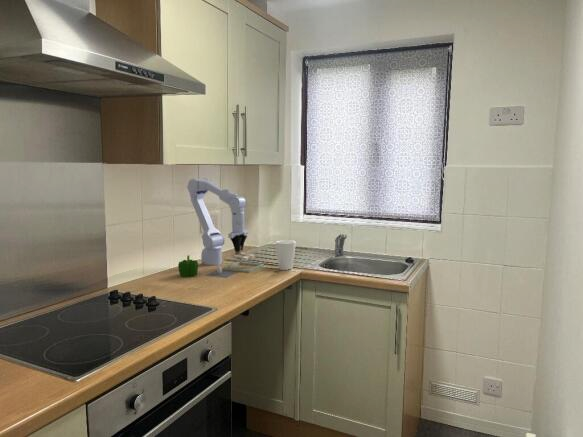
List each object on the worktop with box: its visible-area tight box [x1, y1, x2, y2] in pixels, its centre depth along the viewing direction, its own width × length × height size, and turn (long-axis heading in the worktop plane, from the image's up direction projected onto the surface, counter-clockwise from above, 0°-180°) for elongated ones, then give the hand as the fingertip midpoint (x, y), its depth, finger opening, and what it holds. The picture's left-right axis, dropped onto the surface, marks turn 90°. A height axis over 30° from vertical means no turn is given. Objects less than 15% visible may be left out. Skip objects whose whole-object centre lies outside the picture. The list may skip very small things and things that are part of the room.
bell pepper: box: [177, 255, 199, 278], centre depth 195 cm, size 8×8×10 cm
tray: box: [223, 261, 265, 273], centre depth 210 cm, size 14×14×2 cm
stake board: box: [204, 266, 240, 279], centre depth 198 cm, size 11×11×4 cm
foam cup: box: [275, 239, 297, 271], centre depth 213 cm, size 10×9×13 cm
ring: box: [230, 246, 256, 262], centre depth 209 cm, size 8×8×5 cm
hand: (238, 251), depth 210 cm, fingers closed on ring
